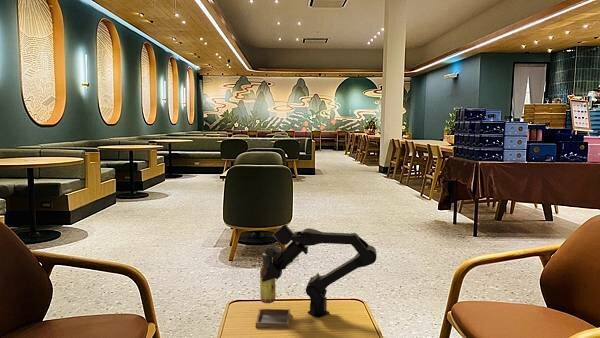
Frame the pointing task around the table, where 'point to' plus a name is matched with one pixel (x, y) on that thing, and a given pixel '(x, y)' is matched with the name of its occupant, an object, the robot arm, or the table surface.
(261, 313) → the walnut frame
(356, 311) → the table surface
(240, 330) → the table surface
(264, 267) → the sauce bottle
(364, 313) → the table surface
